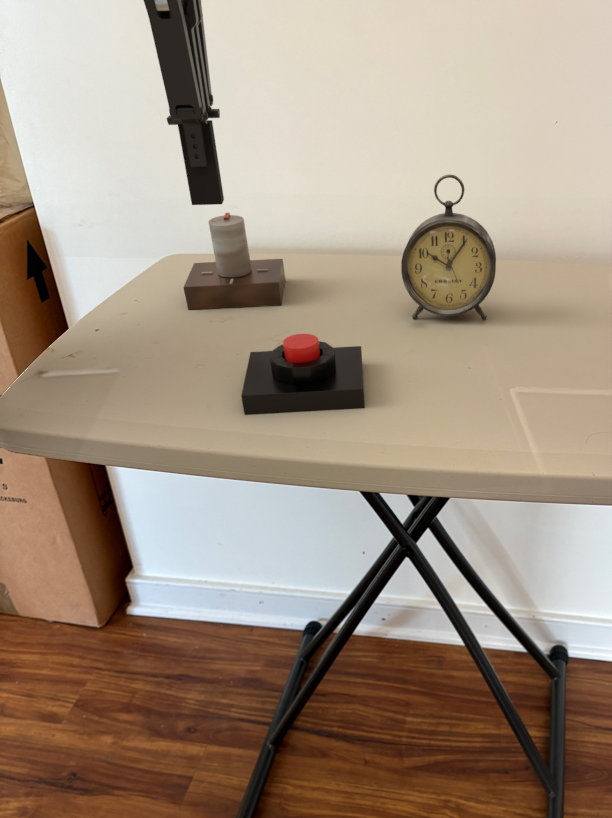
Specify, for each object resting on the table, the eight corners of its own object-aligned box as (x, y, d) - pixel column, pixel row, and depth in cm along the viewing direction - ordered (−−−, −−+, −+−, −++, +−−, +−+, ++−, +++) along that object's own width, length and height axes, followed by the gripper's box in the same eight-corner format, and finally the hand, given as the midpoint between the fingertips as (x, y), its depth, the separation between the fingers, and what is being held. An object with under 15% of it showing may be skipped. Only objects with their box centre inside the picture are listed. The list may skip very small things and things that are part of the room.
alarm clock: (402, 324, 92) (397, 180, 82) (407, 307, 96) (403, 168, 86) (492, 326, 91) (499, 180, 81) (494, 308, 95) (500, 168, 85)
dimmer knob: (250, 276, 98) (241, 221, 93) (215, 278, 97) (205, 223, 93) (253, 265, 101) (244, 211, 97) (219, 266, 101) (210, 213, 97)
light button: (284, 365, 76) (281, 349, 75) (286, 350, 79) (283, 334, 78) (320, 363, 76) (318, 347, 75) (320, 348, 79) (319, 332, 78)
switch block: (244, 415, 76) (238, 379, 73) (253, 370, 83) (247, 336, 81) (364, 408, 76) (362, 372, 73) (362, 364, 84) (360, 330, 81)
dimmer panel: (188, 310, 97) (182, 285, 95) (198, 284, 104) (193, 261, 102) (281, 305, 98) (278, 280, 96) (285, 280, 105) (282, 257, 103)
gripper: (119, -139, 59) (178, 184, 74) (73, -153, 49) (152, 225, 64) (215, -140, 59) (255, 182, 74) (190, -154, 49) (242, 222, 64)
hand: (208, 202), depth 69 cm, fingers closed
